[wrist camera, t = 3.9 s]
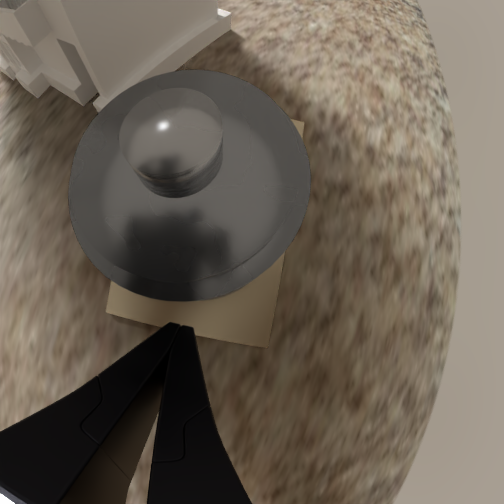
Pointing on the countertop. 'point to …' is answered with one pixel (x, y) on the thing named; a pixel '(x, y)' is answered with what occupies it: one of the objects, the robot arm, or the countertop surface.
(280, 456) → the countertop surface
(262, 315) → the tan rectangular board
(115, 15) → the dollhouse
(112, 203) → the grey lidded jar
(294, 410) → the countertop surface
